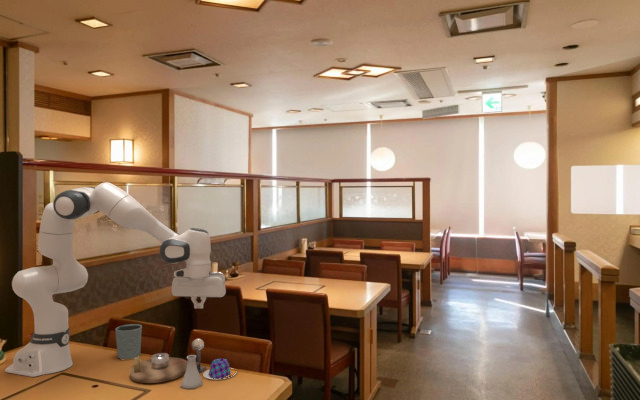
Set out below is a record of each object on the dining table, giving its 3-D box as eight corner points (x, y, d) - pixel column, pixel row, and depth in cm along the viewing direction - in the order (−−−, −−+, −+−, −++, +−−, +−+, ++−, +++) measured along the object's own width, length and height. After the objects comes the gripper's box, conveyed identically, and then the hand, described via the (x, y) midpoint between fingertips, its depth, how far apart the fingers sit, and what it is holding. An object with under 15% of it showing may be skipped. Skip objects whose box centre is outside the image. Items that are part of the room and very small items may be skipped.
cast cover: (154, 370, 159) (154, 358, 159) (149, 366, 164) (149, 354, 164) (171, 367, 163) (171, 354, 163) (165, 362, 168) (165, 350, 168)
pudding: (220, 366, 172) (220, 353, 172) (243, 373, 165) (243, 359, 165) (196, 376, 162) (196, 362, 162) (219, 384, 155) (219, 369, 155)
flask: (196, 390, 149) (196, 360, 149) (176, 388, 151) (176, 359, 151) (205, 382, 156) (206, 353, 156) (187, 380, 158) (187, 352, 158)
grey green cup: (129, 361, 176) (129, 331, 176) (109, 359, 179) (109, 329, 180) (147, 353, 186) (147, 324, 186) (127, 351, 189) (127, 322, 189)
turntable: (140, 387, 150) (140, 366, 150) (123, 370, 165) (123, 351, 165) (196, 373, 162) (196, 354, 162) (175, 358, 178) (175, 341, 178)
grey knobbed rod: (190, 372, 165) (190, 339, 165) (195, 368, 169) (195, 336, 169) (202, 373, 165) (202, 340, 165) (206, 369, 169) (206, 336, 169)
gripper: (228, 270, 169) (228, 307, 169) (177, 269, 172) (177, 305, 172) (222, 273, 162) (222, 311, 162) (169, 272, 165) (169, 309, 165)
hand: (198, 308), depth 167 cm, fingers closed
